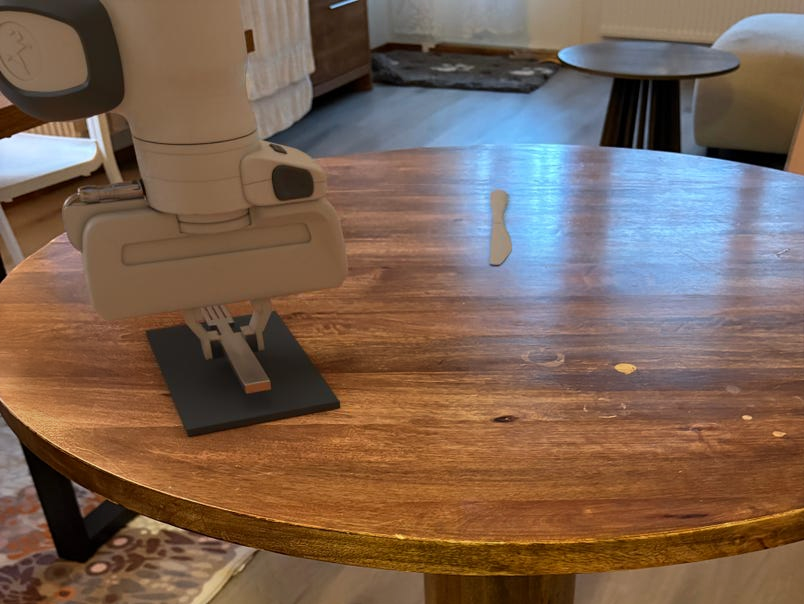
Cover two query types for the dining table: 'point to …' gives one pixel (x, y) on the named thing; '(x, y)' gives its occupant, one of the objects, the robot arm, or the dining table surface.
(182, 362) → the mat
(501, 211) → the butter knife
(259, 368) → the fork
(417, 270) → the dining table surface
